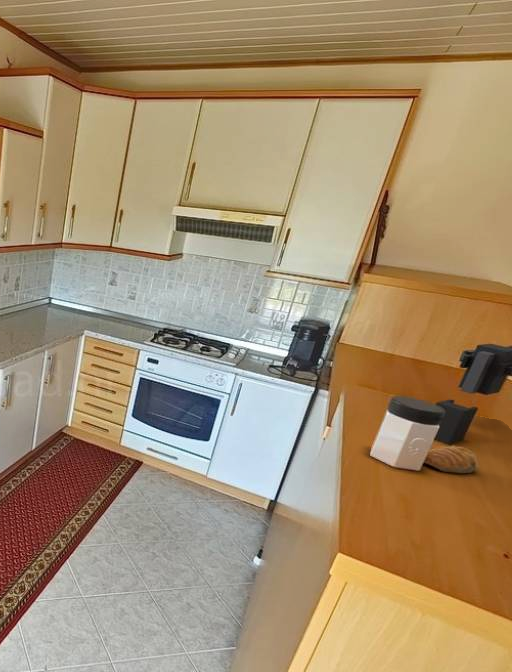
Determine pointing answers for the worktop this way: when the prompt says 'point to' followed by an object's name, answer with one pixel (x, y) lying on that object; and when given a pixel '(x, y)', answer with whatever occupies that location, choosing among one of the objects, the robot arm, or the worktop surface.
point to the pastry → (452, 459)
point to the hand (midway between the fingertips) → (480, 366)
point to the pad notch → (454, 421)
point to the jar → (407, 432)
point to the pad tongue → (485, 369)
